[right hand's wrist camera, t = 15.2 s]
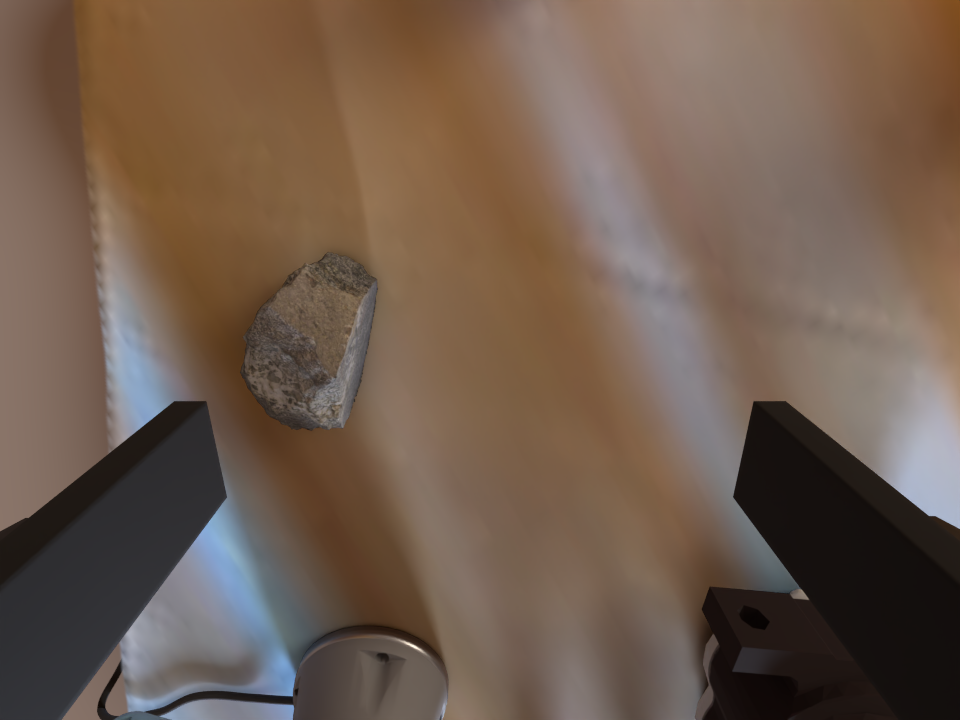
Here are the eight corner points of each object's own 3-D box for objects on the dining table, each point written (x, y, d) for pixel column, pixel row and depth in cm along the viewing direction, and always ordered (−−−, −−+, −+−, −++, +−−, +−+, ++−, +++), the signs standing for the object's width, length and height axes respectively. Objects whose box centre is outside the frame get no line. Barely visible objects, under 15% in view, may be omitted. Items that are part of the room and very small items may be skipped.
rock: (352, 425, 42) (329, 469, 36) (245, 399, 41) (203, 440, 35) (385, 265, 37) (365, 285, 31) (265, 233, 37) (220, 247, 31)
